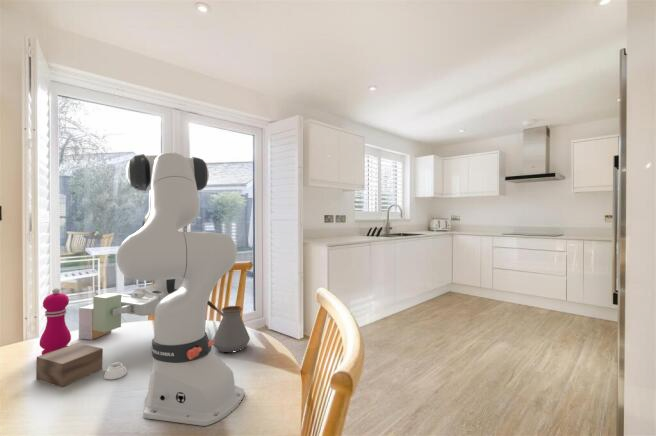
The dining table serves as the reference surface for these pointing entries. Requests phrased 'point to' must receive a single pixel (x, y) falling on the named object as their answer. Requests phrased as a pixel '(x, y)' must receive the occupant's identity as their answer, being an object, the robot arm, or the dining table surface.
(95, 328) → the sage block
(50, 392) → the dining table surface
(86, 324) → the small box
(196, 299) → the robot arm
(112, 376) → the white hollow cone
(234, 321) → the coffee pot
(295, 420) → the dining table surface
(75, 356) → the walnut block
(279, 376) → the dining table surface
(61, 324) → the pepper mill
